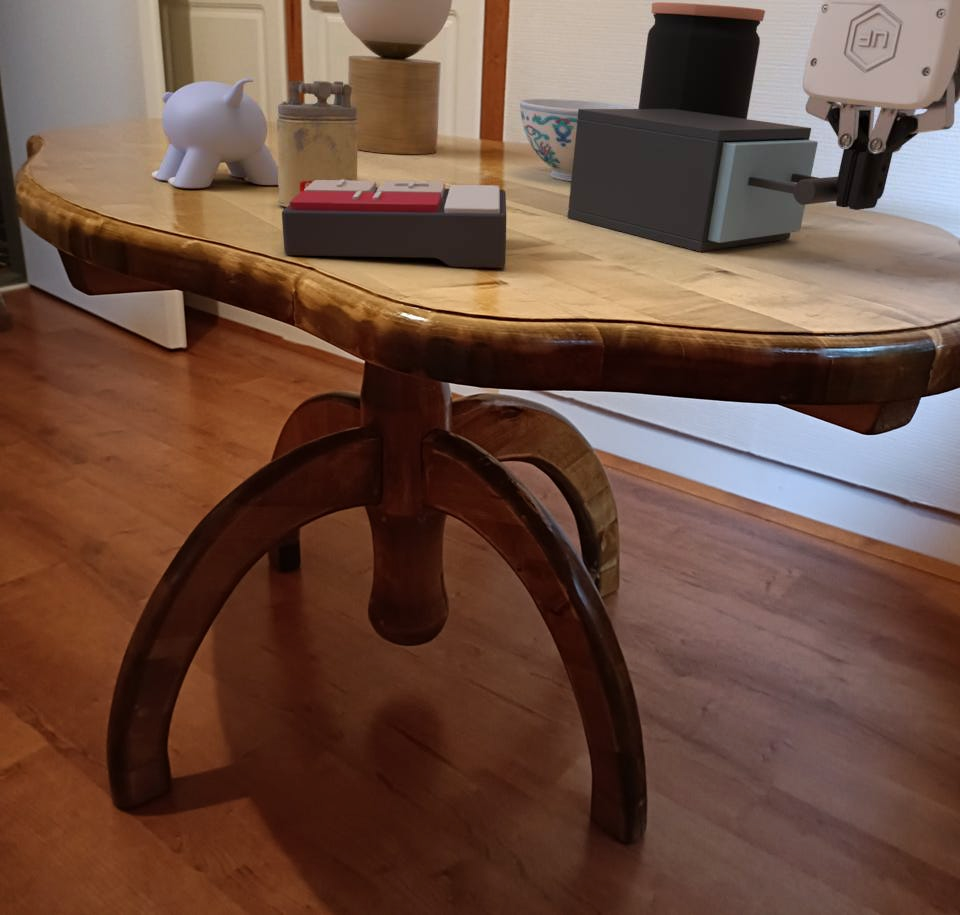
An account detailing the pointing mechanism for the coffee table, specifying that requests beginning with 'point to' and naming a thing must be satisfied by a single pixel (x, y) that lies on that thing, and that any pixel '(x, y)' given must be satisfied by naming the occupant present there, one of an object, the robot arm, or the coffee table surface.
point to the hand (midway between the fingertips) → (855, 206)
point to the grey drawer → (765, 188)
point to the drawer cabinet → (658, 171)
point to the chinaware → (557, 129)
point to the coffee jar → (701, 58)
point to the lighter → (315, 138)
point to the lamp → (395, 73)
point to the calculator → (398, 221)
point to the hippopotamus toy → (214, 136)
